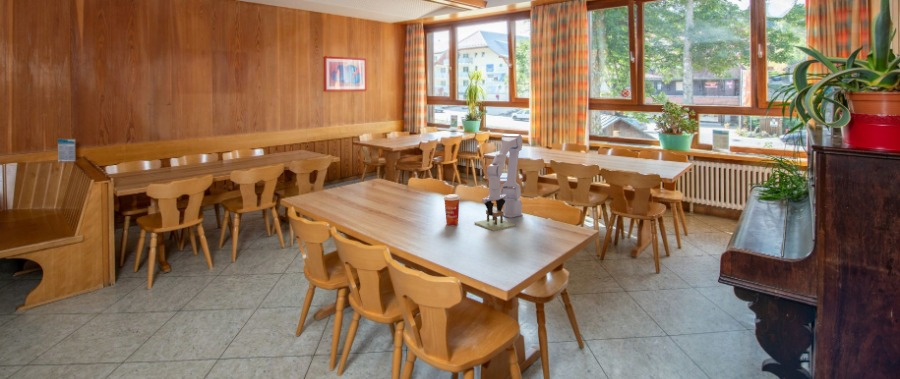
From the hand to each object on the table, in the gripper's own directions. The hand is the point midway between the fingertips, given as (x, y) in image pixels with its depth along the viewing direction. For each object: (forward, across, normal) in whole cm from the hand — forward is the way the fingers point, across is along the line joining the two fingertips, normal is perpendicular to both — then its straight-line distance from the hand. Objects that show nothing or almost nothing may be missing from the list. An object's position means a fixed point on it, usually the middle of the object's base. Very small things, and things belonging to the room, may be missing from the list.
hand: (494, 214), depth 244 cm
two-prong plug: (+4, 0, 0) cm, 4 cm away
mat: (+6, 0, 0) cm, 6 cm away
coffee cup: (+6, +16, -15) cm, 23 cm away
